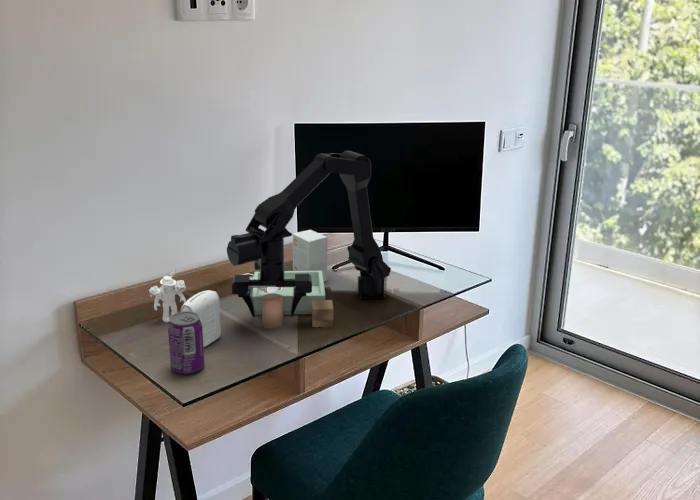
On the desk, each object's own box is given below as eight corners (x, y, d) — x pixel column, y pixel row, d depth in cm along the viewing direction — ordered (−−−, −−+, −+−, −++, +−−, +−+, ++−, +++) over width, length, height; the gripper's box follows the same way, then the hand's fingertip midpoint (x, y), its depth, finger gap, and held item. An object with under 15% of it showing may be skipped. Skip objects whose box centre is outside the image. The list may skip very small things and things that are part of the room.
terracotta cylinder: (283, 319, 180) (282, 293, 177) (283, 328, 175) (282, 301, 173) (262, 319, 179) (262, 293, 177) (262, 328, 175) (261, 302, 172)
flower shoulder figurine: (184, 311, 183) (181, 266, 178) (191, 316, 180) (188, 272, 175) (149, 320, 178) (145, 274, 173) (156, 326, 175) (152, 280, 170)
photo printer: (209, 332, 173) (206, 284, 168) (223, 336, 171) (221, 288, 166) (180, 350, 164) (176, 300, 160) (195, 355, 162) (191, 304, 158)
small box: (327, 281, 202) (328, 236, 197) (309, 286, 198) (309, 241, 194) (310, 271, 208) (310, 228, 203) (292, 277, 204) (291, 233, 199)
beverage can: (210, 363, 159) (207, 313, 155) (193, 378, 153) (190, 327, 148) (182, 357, 161) (178, 308, 157) (164, 372, 155) (160, 321, 151)
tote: (321, 287, 198) (321, 270, 196) (325, 313, 183) (325, 295, 181) (255, 288, 196) (254, 271, 194) (252, 315, 181) (252, 296, 180)
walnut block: (331, 318, 181) (331, 300, 179) (333, 327, 176) (333, 308, 174) (311, 318, 180) (311, 300, 179) (312, 328, 176) (312, 309, 174)
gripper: (310, 243, 179) (310, 301, 185) (233, 244, 178) (235, 302, 183) (312, 260, 169) (311, 321, 174) (230, 261, 167) (233, 322, 173)
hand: (272, 316), depth 176 cm, fingers open, 9 cm apart
